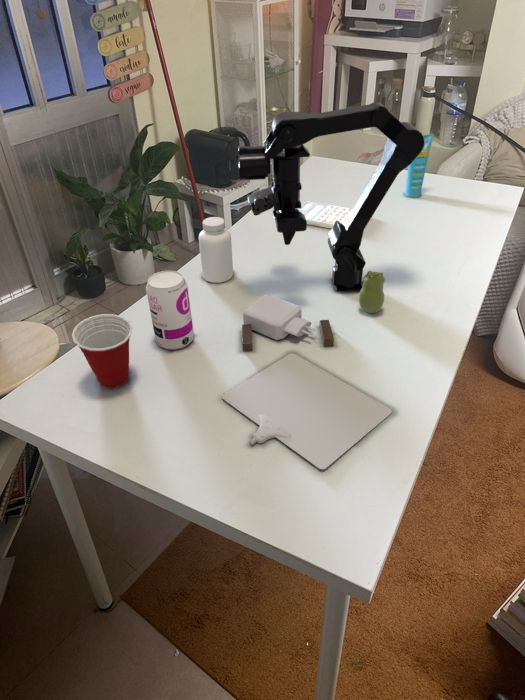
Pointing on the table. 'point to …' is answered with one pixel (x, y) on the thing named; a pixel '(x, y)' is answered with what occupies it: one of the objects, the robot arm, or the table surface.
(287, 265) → the table surface
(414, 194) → the tube
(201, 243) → the pill bottle
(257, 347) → the table surface
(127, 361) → the plastic cup
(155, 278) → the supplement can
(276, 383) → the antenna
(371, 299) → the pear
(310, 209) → the calculator
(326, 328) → the bay
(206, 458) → the table surface
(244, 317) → the charger
